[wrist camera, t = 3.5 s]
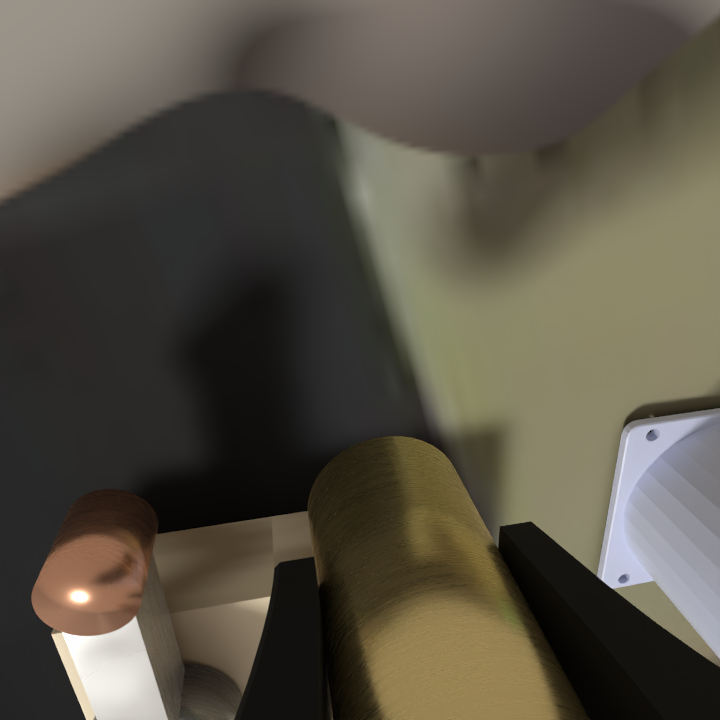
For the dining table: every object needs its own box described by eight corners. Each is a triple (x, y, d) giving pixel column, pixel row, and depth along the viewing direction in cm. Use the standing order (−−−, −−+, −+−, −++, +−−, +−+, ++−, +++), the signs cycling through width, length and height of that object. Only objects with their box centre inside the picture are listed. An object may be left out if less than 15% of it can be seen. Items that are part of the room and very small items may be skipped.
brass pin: (461, 425, 12) (689, 787, 6) (458, 548, 13) (637, 947, 7) (299, 448, 11) (351, 866, 5) (314, 573, 13) (370, 1020, 7)
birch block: (432, 491, 20) (465, 562, 17) (432, 643, 24) (459, 726, 21) (85, 545, 19) (51, 634, 16) (137, 700, 22) (118, 798, 19)
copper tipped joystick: (194, 473, 14) (181, 550, 12) (251, 740, 19) (251, 833, 16) (8, 500, 14) (-45, 586, 11) (114, 768, 18) (94, 870, 16)
